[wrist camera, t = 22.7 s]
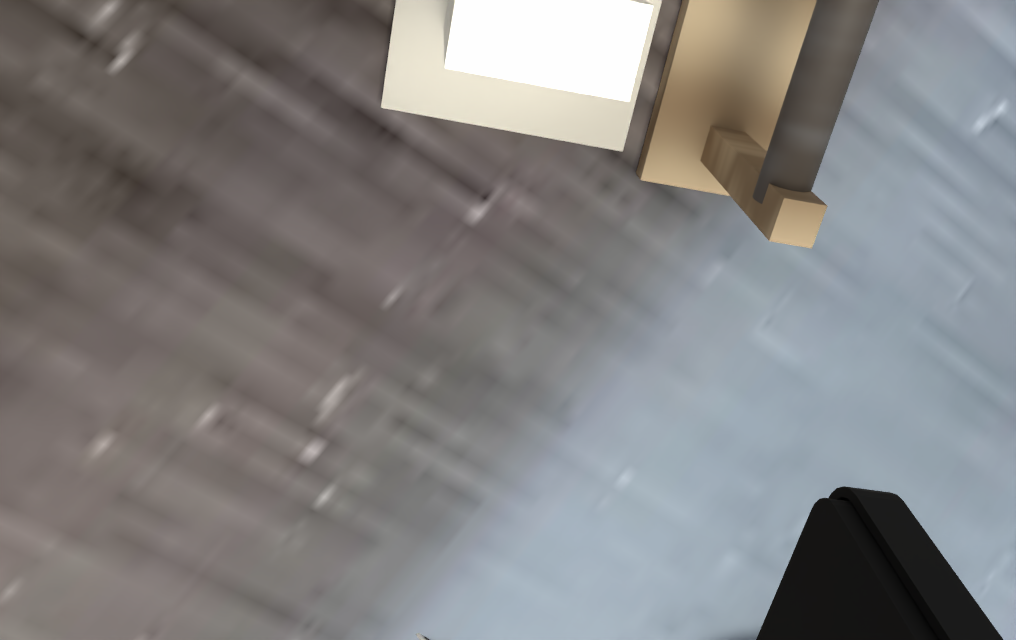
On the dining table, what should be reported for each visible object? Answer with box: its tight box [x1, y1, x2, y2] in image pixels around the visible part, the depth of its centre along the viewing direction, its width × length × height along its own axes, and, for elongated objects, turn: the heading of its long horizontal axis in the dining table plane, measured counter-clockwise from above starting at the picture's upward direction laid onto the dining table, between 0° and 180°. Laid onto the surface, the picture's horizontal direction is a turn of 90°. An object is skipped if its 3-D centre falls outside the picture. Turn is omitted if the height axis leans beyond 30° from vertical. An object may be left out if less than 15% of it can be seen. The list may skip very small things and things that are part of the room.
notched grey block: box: [444, 0, 653, 102], centre depth 32 cm, size 6×3×8 cm, turn 79°
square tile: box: [381, 0, 662, 151], centre depth 36 cm, size 10×10×1 cm
